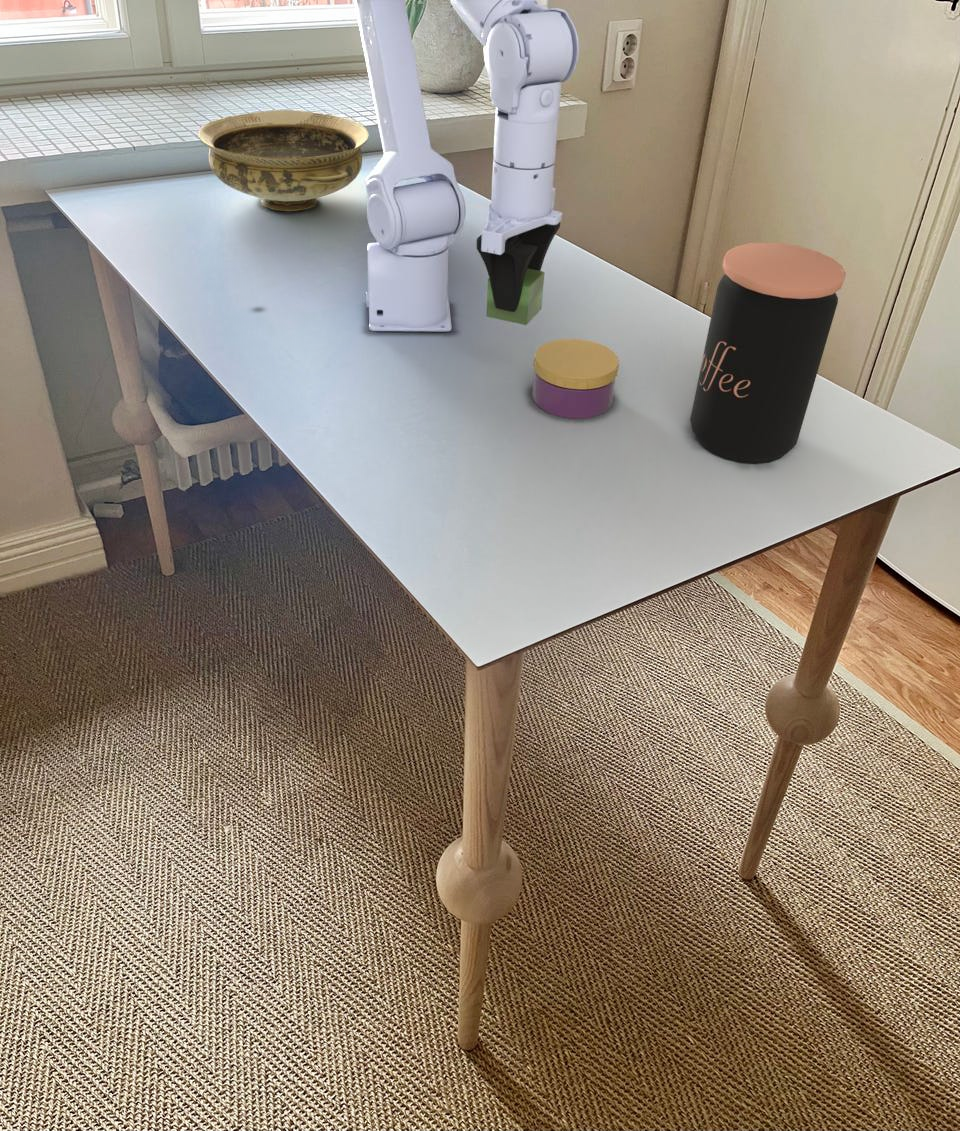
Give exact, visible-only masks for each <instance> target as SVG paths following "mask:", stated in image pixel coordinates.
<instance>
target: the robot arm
mask: <svg viewBox="0 0 960 1131" xmlns="http://www.w3.org/2000/svg"><path fill="white" fill-rule="evenodd" d="M449 1H450V4H451V5H450V6H452V8H453V9H454V11H455V12H456V13H457V15H458V16H459V18H460V19H461V20H462V21H463V22H464V23H465V25H466V26H467V27H468V28H469V30H470V31H471V32H472V34H473V35H474V36H475V38H476V39H477V40H478V41H479V43H480V44H481V45H482V46H483V58H484V60H483V61H484V67H485V70H486V74H487V76H488V79H489V85H490V88H489V89H490V92H489V99H490V100H491V106H492V107H493V108H495V113H494V133H493V134H494V135H493V154H492V176H491V194H490V196H491V197H490V198H491V199H490V204H489V205H488V212H487V219H486V225H485V227H484V228H483V229H482V230H481V234H480V235H479V236H478V237H477V238H476V246H475V247H476V251H477V252H478V254H479V255H480V258H481V259H482V261H483V264H484V266H485V268H486V271H487V275H488V278H489V279H490V283H491V288H492V294H493V299H494V303H495V307H496V308H497V309H501V310H506V311H510V312H515V311H516V309H517V307H518V304H519V301H520V297H521V292H522V287H523V282H524V277H525V274H526V271H527V268H528V269H533V270H538V271H542V267H543V264H544V260H545V258H546V255H547V253H548V250H549V248H550V245H551V244H552V241H553V239H554V238H555V236H556V234H557V232H558V231H559V229H560V227H561V222H562V221H563V214H564V213H563V212H561V211H559V210H554V208H555V201H556V187H554V176H555V164H556V155H557V154H556V153H557V141H558V129H559V118H560V107H561V95H562V85H563V84H562V83H565V82H566V81H568V80H569V79H570V78H571V77H572V76H573V74H574V73H575V70H576V68H577V65H578V61H579V54H580V53H579V52H580V44H579V43H580V42H579V36H578V32H577V29H576V27H575V26H576V25H575V24H574V22H573V21H572V19H571V18H570V15H569V13H568V12H567V10H565V9H563V8H559V7H553V8H549V7H547V5H545V4H544V5H540V3H538V1H537V0H449ZM353 3H354V7H355V11H356V12H355V13H356V16H357V22H358V27H359V31H360V32H359V33H360V38H361V43H362V48H363V52H364V59H365V63H366V68H367V74H368V80H369V85H370V89H371V94H372V95H371V96H372V100H373V104H374V110H375V115H376V116H375V117H376V121H377V126H378V130H379V135H380V141H381V146H382V151H383V156H382V158H381V159H380V160H379V162H378V163H377V165H376V166H374V169H373V170H371V172H370V173H369V174H368V176H367V178H366V179H365V187H366V198H367V206H366V216H367V223H368V227H369V230H370V232H371V235H372V236H373V239H375V241H376V242H370V243H367V290H366V292H365V303H366V304H365V305H366V308H368V321H369V323H368V324H369V325H368V329H369V330H370V331H372V332H441V333H443V332H445V333H446V332H448V333H449V332H451V331H452V318H451V308H450V302H449V300H448V282H449V281H448V277H449V247H450V246H453V245H454V244H455V236H457V235H458V234H459V233H460V232H462V230H463V227H464V224H465V220H466V216H467V215H466V212H467V210H466V208H467V207H466V202H465V198H464V195H463V192H462V190H461V189H460V186H459V184H458V181H457V178H456V175H455V169H454V165H453V163H451V162H450V161H449V160H448V159H446V158H445V157H443V156H442V155H441V154H439V153H438V152H437V151H436V150H434V149H433V148H432V145H431V140H430V139H431V138H430V134H429V128H428V125H427V123H428V122H427V118H426V112H425V106H424V105H425V104H424V100H423V96H422V95H423V94H422V90H421V83H420V77H419V72H418V66H417V60H416V55H415V48H414V43H413V38H412V32H411V27H410V22H409V15H408V9H407V5H406V0H353ZM414 179H423V180H425V181H420V182H414V183H408V184H404V185H399V186H396V185H397V184H398V183H399V182H402V181H409V180H414Z"/></svg>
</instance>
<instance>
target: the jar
mask: <svg viewBox="0 0 960 1131" xmlns="http://www.w3.org/2000/svg"><path fill="white" fill-rule="evenodd" d="M532 383H533V384H532V394H531V396H532V397H531V398H532V400H533V403H534V404H535V405H536V406H537V407H538V408H539V409H541V410H542V411H544V412H546V413H548V414H550V415H553V416H556V417H561V418H566V419H575V420H577V419H589V418H594V417H598V416H600V415H603V414H604V413H606V412H607V411H609V410H610V408H611V407H612V404H613V398H614V392H615V385H616V378H615V379H614V380H613V381H612V382H611V383H609V384H607V385H605V386H602V387H599V388H594V389H569V388H564V387H559V386H556V385H553V384H551V383H549V382H547V381H545V380H543V379H542V378H541V377H539V376H538V375H537V373H536V372H535V371H534V370H533V382H532Z"/></svg>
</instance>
